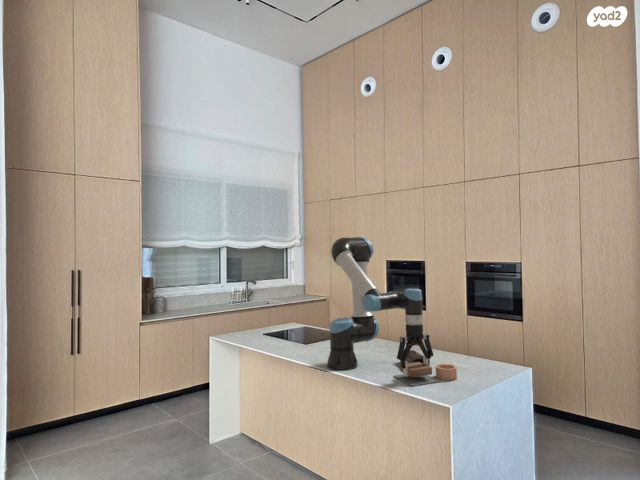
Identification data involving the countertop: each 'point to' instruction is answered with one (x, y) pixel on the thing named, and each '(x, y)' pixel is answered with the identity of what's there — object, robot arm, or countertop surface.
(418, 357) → the beverage carton
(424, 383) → the mat
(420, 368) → the lid
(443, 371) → the pot
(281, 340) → the countertop surface
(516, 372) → the countertop surface
